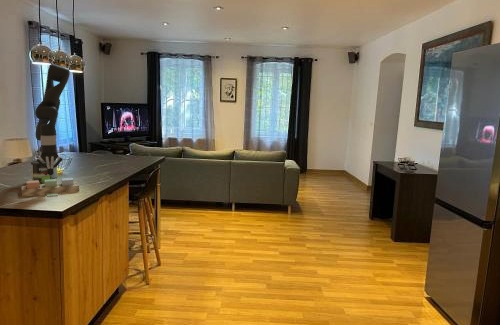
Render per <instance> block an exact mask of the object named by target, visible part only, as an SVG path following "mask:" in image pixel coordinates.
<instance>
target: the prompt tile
mask: <svg viewBox="0 0 500 325" xmlns="http://www.w3.org/2000/svg"><path fill="white" fill-rule="evenodd" d="M46 197H47V198H52V197H59V193H58V194H57V193H49V194H47V195H46Z"/></svg>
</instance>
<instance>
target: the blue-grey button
mask: <svg viewBox="0 0 500 325" xmlns="http://www.w3.org/2000/svg"><path fill="white" fill-rule="evenodd" d="M74 182H75V181H74V178H73V177H66V178H65V177H64V178H61V183H62V186H69V185H74Z"/></svg>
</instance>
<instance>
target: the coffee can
mask: <svg viewBox="0 0 500 325" xmlns="http://www.w3.org/2000/svg"><path fill="white" fill-rule="evenodd" d="M41 162H42V163H43V164H44V165H46V166H47V164H46V162H45V161H41ZM30 166H31V167H30V168H31V171H30V172H31V181H35V180H39V185H41V184H45V182H44V180H49V179H52V178H51V175H50V176H49V175H48V172H47V168H44V167H43V166H42V165H41V164H40V163H39V162H37V160H35V161H34V160H33V161H31V162H30ZM49 166H50V168H51V162H49Z"/></svg>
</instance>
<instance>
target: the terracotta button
mask: <svg viewBox="0 0 500 325" xmlns="http://www.w3.org/2000/svg"><path fill="white" fill-rule="evenodd" d="M26 186H27V189H32V188H39V180H35V181H32V180H27V181H26Z"/></svg>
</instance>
